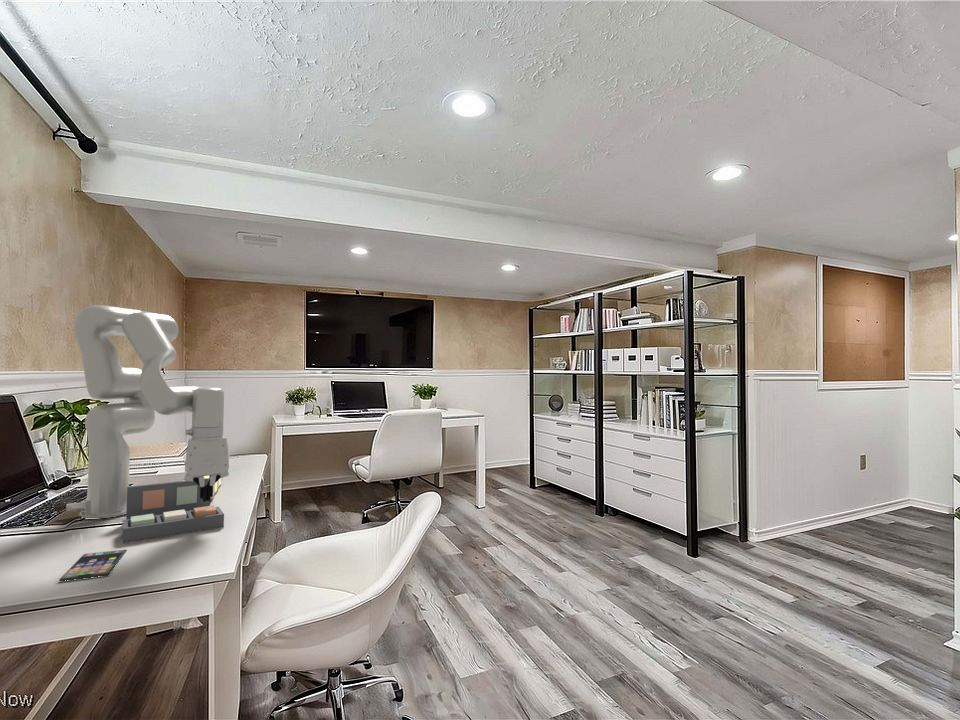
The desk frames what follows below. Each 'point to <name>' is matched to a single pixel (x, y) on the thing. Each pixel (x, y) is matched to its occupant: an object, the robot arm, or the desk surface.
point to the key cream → (174, 515)
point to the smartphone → (93, 565)
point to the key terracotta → (204, 511)
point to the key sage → (142, 520)
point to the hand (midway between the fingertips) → (206, 500)
